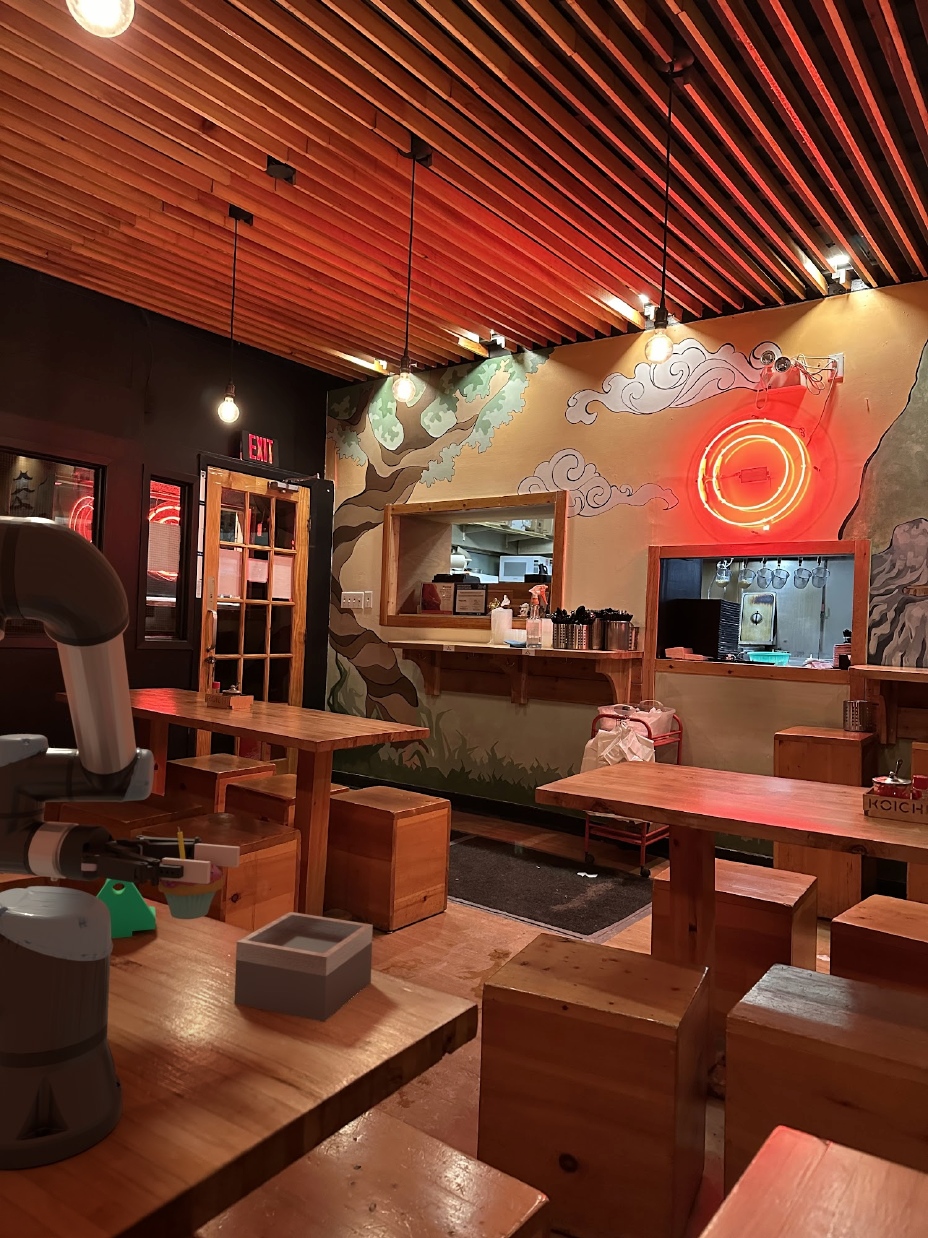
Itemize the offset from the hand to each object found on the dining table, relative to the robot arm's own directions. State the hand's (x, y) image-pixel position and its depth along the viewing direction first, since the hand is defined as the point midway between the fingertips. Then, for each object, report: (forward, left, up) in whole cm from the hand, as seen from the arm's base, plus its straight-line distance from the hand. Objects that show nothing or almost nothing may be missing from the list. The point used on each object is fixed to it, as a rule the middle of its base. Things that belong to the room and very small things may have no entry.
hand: (223, 864), depth 115 cm
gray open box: (+10, -7, -20) cm, 23 cm away
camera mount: (+20, +35, -20) cm, 45 cm away
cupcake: (-1, +5, -7) cm, 9 cm away
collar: (+10, -7, -14) cm, 19 cm away
